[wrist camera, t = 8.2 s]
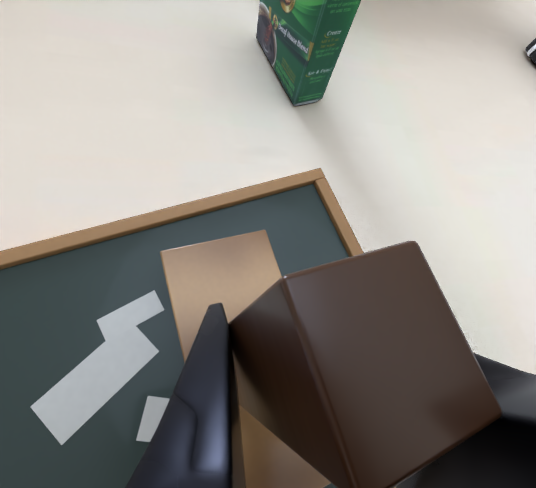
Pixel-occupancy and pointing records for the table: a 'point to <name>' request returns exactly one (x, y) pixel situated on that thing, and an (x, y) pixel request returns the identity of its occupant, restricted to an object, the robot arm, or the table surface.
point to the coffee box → (304, 42)
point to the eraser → (335, 361)
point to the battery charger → (532, 50)
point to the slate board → (125, 326)
